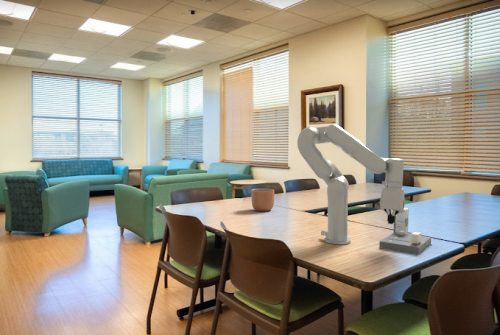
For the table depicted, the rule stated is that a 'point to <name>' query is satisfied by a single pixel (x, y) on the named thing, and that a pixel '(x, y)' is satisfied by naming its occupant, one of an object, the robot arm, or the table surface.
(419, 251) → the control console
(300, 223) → the table surface
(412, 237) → the fader tab
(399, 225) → the syrup box
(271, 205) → the planter
